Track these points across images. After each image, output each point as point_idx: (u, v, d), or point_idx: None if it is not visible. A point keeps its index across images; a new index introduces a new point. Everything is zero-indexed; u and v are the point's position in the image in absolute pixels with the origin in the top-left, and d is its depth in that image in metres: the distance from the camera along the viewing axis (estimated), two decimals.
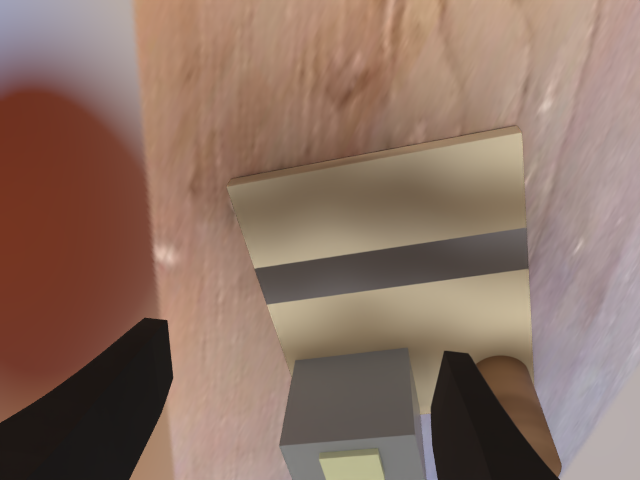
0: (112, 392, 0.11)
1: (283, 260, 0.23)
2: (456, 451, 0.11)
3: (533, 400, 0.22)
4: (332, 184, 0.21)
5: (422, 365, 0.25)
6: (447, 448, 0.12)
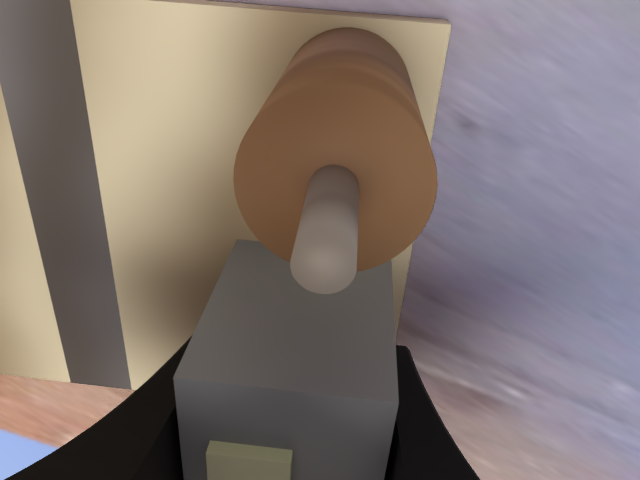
0: None
1: (57, 348, 0.16)
2: None
3: (290, 68, 0.09)
4: None
5: None
6: None
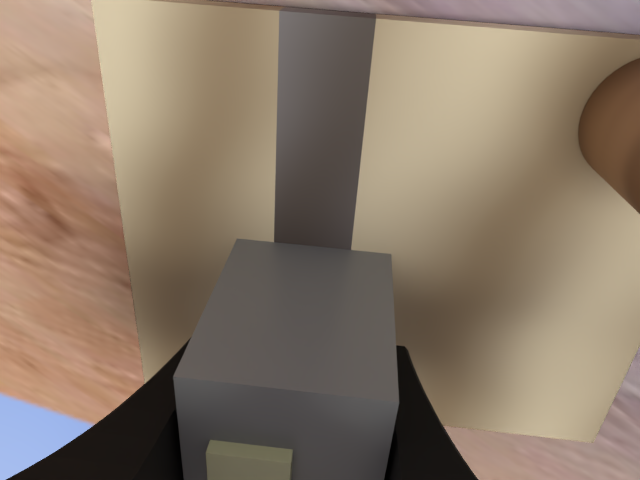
0: None
1: None
2: None
3: None
4: (155, 283, 0.15)
5: (542, 251, 0.13)
6: None
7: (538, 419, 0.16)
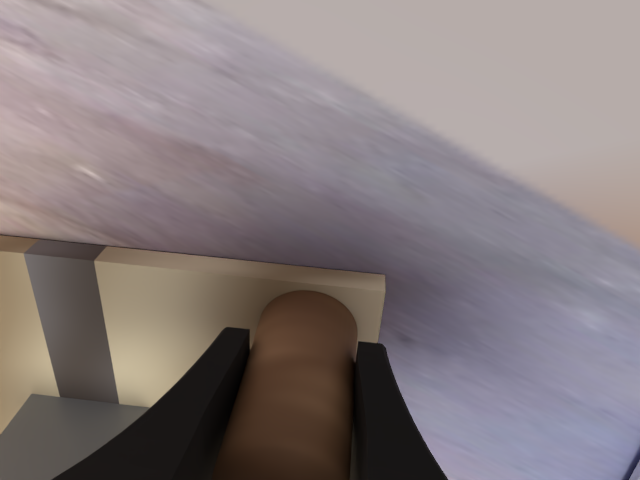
0: (213, 404, 0.11)
1: None
2: (357, 439, 0.11)
3: (254, 363, 0.12)
4: None
5: None
6: (354, 437, 0.12)
7: None
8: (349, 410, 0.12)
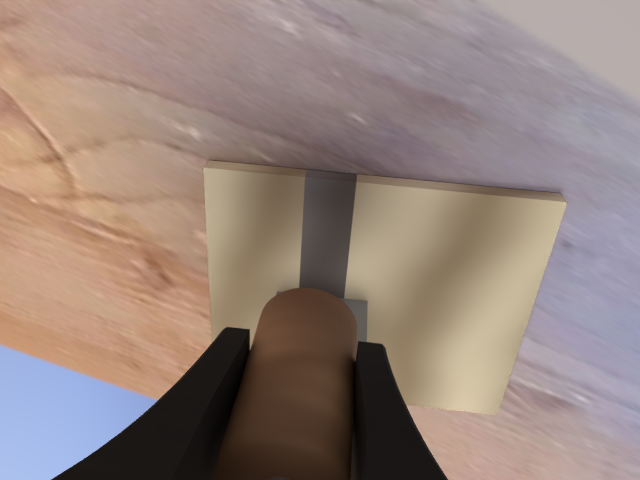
0: (214, 404, 0.11)
1: None
2: (357, 439, 0.11)
3: (255, 360, 0.12)
4: (225, 316, 0.24)
5: (454, 300, 0.23)
6: (354, 437, 0.12)
7: (461, 400, 0.25)
8: (350, 406, 0.12)
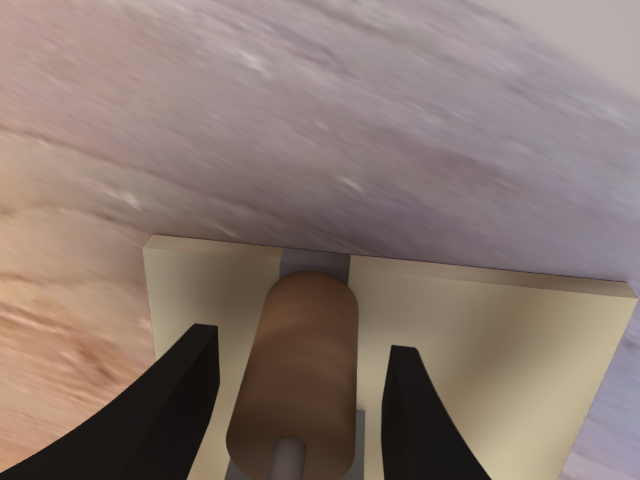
0: (174, 399, 0.11)
1: None
2: (395, 444, 0.11)
3: (263, 334, 0.13)
4: None
5: (479, 413, 0.17)
6: (390, 441, 0.12)
7: None
8: (353, 376, 0.13)
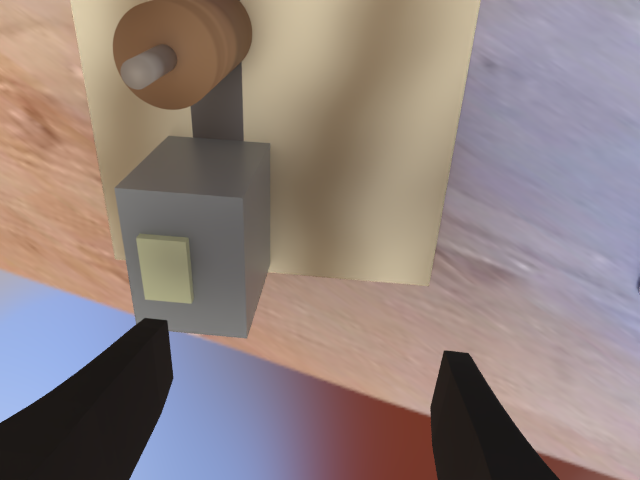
0: (112, 392, 0.11)
1: None
2: (456, 451, 0.11)
3: None
4: (116, 172, 0.21)
5: (366, 137, 0.20)
6: (447, 448, 0.12)
7: (388, 268, 0.23)
8: (226, 29, 0.15)
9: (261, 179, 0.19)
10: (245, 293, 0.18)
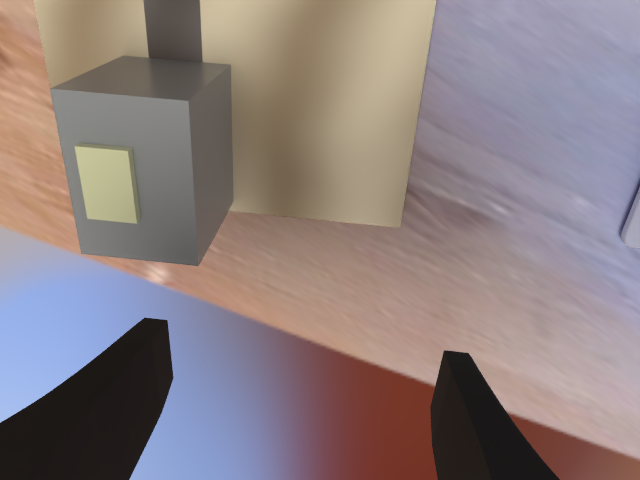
0: (112, 392, 0.11)
1: None
2: (456, 451, 0.11)
3: None
4: None
5: (332, 58, 0.19)
6: (447, 448, 0.12)
7: (357, 207, 0.21)
8: None
9: (217, 97, 0.18)
10: (195, 213, 0.17)
